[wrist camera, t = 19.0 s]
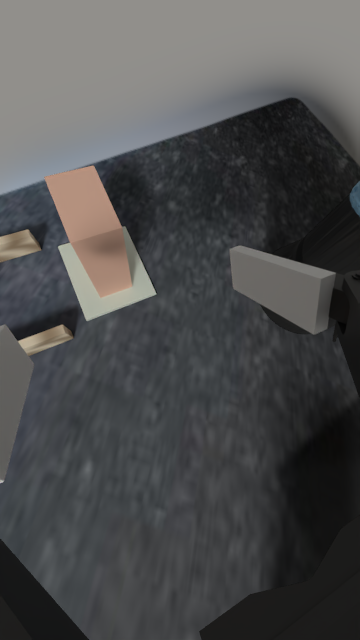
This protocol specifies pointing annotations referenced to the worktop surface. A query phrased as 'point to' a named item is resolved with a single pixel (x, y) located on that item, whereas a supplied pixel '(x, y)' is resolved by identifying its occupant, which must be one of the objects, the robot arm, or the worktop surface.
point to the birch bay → (17, 247)
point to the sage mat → (100, 306)
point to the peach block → (92, 228)
